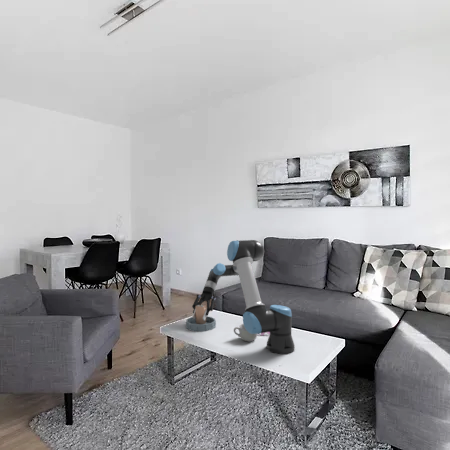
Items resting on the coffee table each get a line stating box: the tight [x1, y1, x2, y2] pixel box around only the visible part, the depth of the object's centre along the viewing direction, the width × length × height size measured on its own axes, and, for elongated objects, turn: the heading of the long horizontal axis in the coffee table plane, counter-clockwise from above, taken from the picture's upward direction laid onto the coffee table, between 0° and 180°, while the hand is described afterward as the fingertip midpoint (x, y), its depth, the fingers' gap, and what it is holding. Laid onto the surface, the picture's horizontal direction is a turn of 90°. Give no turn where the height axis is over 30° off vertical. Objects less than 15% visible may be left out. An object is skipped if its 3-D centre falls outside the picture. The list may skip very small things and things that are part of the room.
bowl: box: [185, 315, 217, 332], centre depth 224 cm, size 19×19×4 cm
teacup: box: [233, 323, 258, 342], centre depth 200 cm, size 14×11×8 cm
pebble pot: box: [196, 304, 207, 324], centre depth 224 cm, size 7×7×12 cm
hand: (198, 318), depth 221 cm, fingers closed on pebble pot, 7 cm apart
